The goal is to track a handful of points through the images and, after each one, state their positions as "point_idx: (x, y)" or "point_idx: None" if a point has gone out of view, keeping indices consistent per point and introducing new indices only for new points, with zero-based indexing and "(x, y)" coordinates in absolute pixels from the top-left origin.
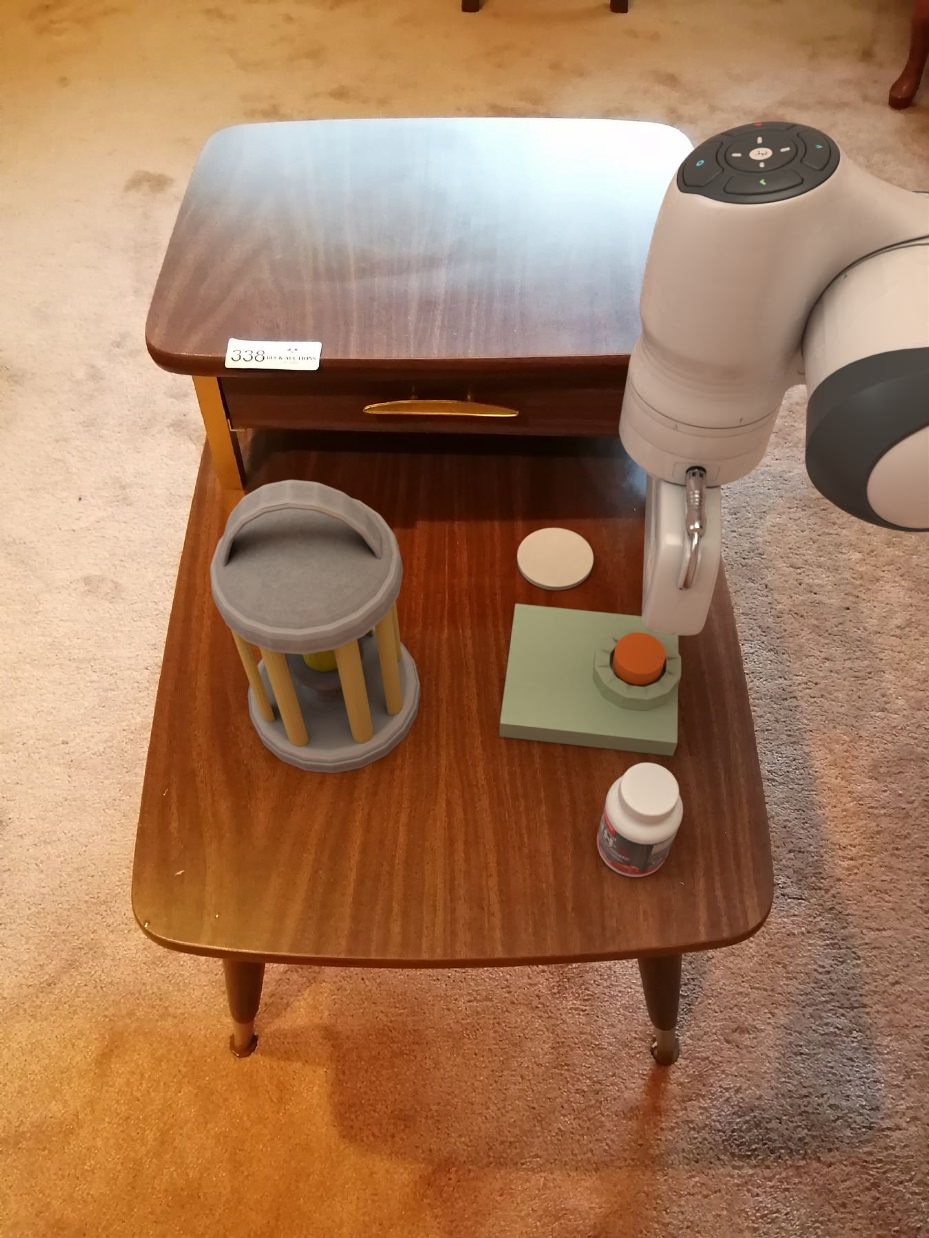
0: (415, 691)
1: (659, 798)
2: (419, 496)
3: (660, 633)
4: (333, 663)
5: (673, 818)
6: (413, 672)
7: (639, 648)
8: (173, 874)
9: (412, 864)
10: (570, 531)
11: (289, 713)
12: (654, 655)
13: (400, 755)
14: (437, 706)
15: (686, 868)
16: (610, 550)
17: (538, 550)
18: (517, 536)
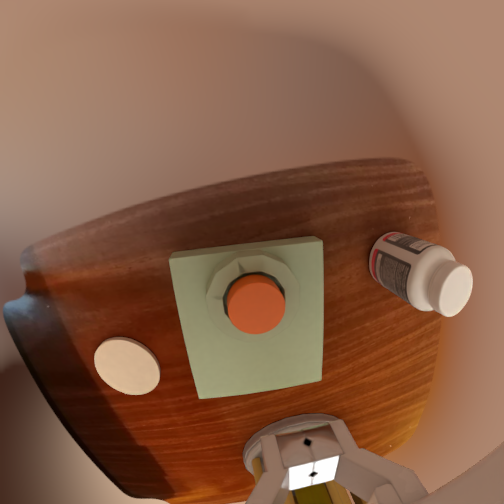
0: (295, 426)
1: (464, 281)
2: (117, 445)
3: (192, 275)
4: (322, 483)
5: (450, 256)
6: (282, 432)
7: (250, 311)
8: (391, 446)
9: (398, 376)
10: (95, 360)
11: None
12: (258, 294)
13: (333, 410)
14: (294, 406)
15: (400, 215)
16: (96, 323)
17: (126, 381)
18: (117, 392)
